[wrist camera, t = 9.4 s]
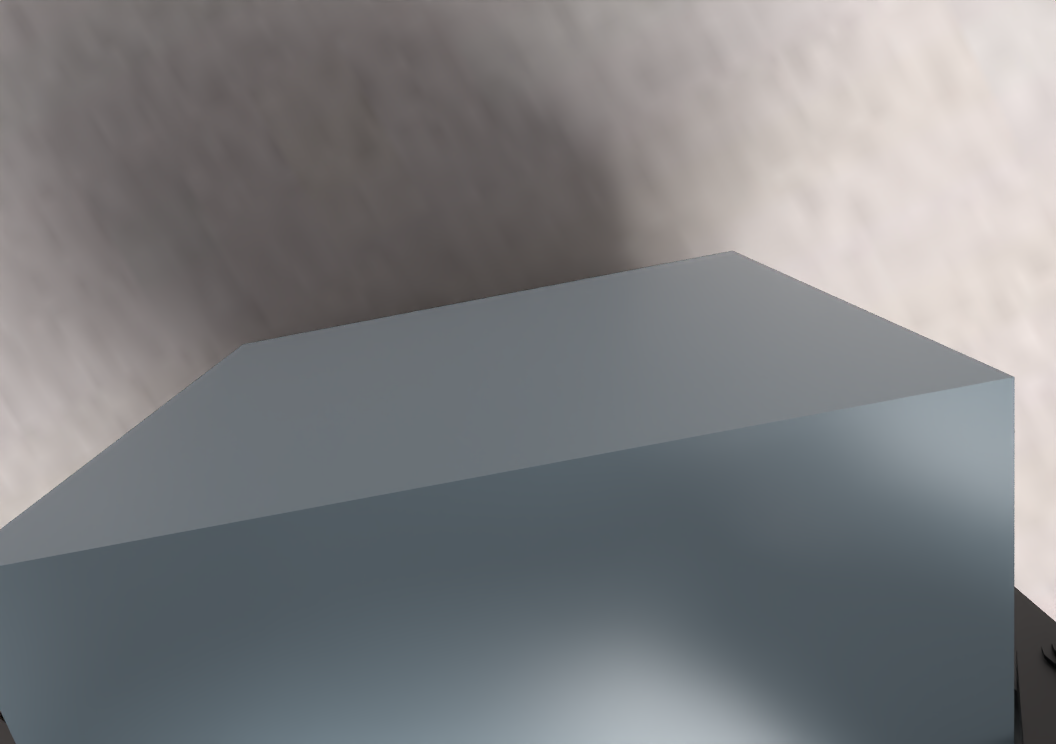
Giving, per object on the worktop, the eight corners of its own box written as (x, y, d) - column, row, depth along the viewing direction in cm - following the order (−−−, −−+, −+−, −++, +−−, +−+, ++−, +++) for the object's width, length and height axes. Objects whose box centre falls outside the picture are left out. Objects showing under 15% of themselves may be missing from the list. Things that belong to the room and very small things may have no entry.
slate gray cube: (364, 740, 18) (249, 1238, 10) (243, 344, 16) (-63, 577, 7) (777, 666, 18) (1013, 1112, 10) (732, 250, 15) (1014, 377, 7)
